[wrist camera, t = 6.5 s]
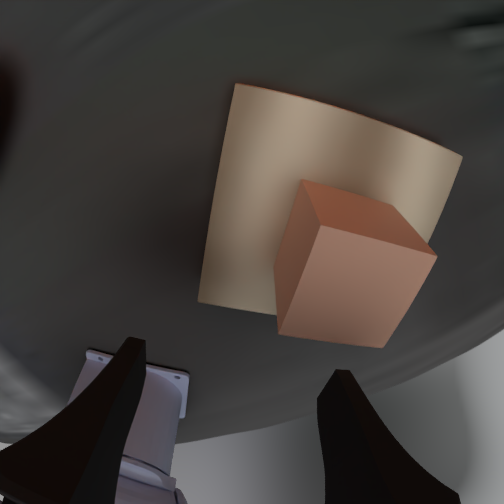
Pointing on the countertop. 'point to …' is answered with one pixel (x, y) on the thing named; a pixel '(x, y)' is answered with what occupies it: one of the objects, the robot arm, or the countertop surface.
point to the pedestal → (312, 169)
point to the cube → (346, 268)
